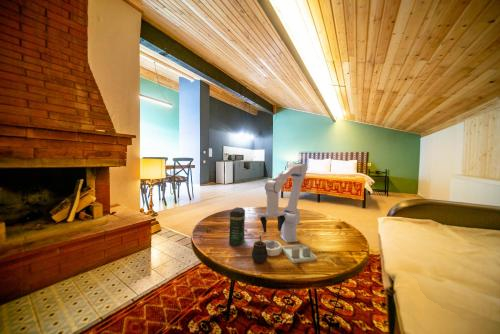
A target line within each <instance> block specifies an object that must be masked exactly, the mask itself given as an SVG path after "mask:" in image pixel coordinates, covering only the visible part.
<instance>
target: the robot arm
mask: <svg viewBox="0 0 500 334" xmlns="http://www.w3.org/2000/svg"><path fill="white" fill-rule="evenodd" d="M307 169H308V168H307V166H306V164H305V163H290V162H289V163H288V164H287V166H286V169H285V170H284V171H282V172H278V173H277V174H276V176H274V177H273V178H272V179H271V180H270V179H269V180H267V181H266V182H265V185H264V190H265V194H266V212H260V213H257V218H258V219H259V220H260V223H261V225H262V230H263V232H264V233H267V223H268V219H267V218H277V231H278V232H280V234H279V237H280V238H281V239H282V240H283V241H284V242H285V243H287V244H288V243H296V242H299V241H300V239H298V238H297V226H298V225H299V224H300V222H301V212H300V210H299V209H298V208H297V207H298V202H299V198H300V194H301V189H302V186H303V180H305V179H306V174H307ZM289 177H290V178H291V179H292V180H293V181H292V185H291V186H292V187H291V190H290V194H289V199H288V203H287V206H285V207H284V208H282V211H279V195H280V192H281V190H282V188H283V185H284V184H286V182H287V181H288V178H289Z"/></svg>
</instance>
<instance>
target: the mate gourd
mask: <svg viewBox="0 0 500 334" xmlns="http://www.w3.org/2000/svg"><path fill="white" fill-rule="evenodd" d="M263 241H264V240H263ZM263 241H262V236H261V235H259V240H257V241H255V242H253V248H252V251H251V258H252V260H253V261H254V262H255V263H256V264H263V263H265V262H266V261H267V260H268V256H269V255H268V253H267V249H266V243H265V242H263Z"/></svg>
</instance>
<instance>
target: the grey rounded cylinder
mask: <svg viewBox="0 0 500 334" xmlns="http://www.w3.org/2000/svg"><path fill="white" fill-rule="evenodd" d="M267 240H268V241H267V248H269V249H274V243H275V241H276V240H273V239H267Z"/></svg>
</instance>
